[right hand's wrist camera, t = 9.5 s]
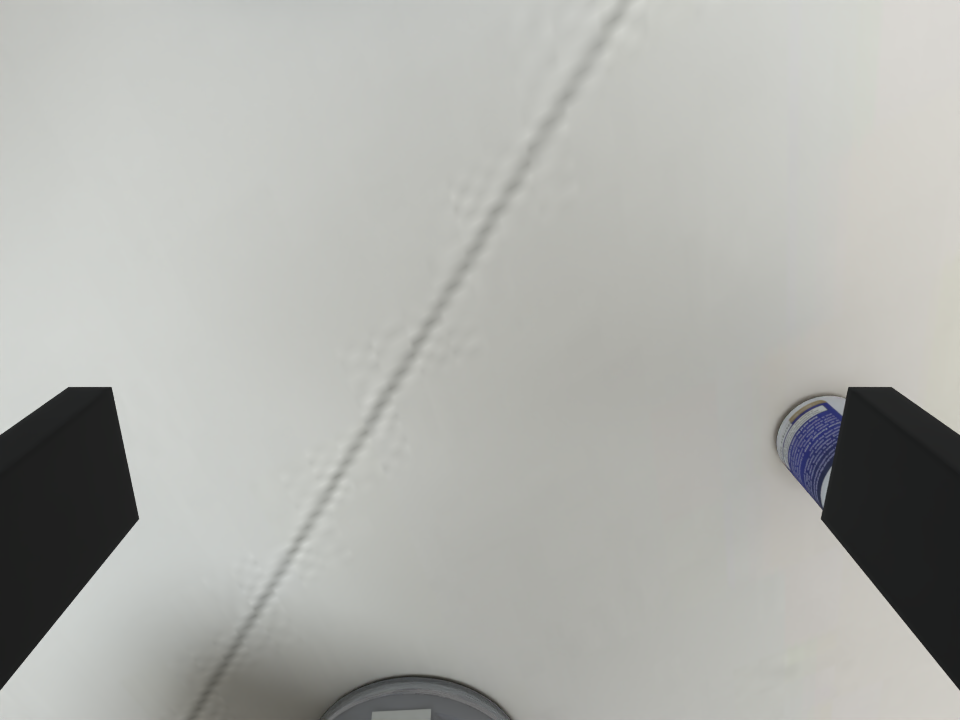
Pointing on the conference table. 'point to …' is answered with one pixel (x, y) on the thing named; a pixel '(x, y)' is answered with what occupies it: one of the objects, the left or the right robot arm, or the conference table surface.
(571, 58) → the conference table surface
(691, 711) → the conference table surface
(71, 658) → the conference table surface
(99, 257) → the conference table surface
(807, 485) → the pill bottle
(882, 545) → the right robot arm
